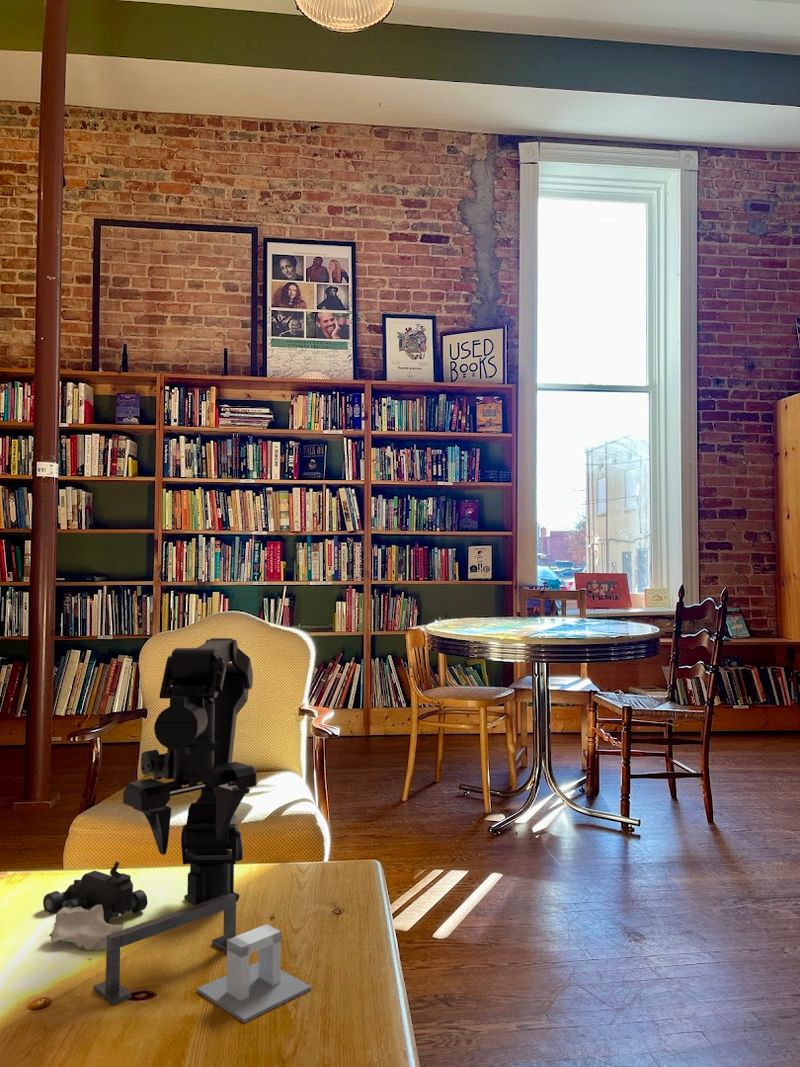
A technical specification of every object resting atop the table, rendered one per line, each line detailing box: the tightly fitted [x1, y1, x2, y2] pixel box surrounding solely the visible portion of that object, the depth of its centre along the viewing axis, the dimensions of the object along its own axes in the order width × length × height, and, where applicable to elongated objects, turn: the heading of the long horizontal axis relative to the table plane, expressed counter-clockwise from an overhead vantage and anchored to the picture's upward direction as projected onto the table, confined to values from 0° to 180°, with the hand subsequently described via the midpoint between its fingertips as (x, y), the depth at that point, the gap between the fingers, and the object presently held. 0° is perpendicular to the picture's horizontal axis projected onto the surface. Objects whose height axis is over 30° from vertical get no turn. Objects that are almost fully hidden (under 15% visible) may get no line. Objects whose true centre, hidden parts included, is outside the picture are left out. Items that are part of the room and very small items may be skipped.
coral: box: [48, 905, 124, 952], centre depth 108 cm, size 6×10×4 cm, turn 86°
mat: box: [196, 961, 312, 1024], centre depth 95 cm, size 10×10×1 cm
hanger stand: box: [93, 893, 237, 1006], centre depth 101 cm, size 19×5×7 cm, turn 137°
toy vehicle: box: [42, 860, 148, 924], centre depth 119 cm, size 8×15×9 cm, turn 57°
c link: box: [226, 923, 282, 1001], centre depth 95 cm, size 3×6×6 cm, turn 137°
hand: (191, 845), depth 110 cm, fingers open, 9 cm apart
